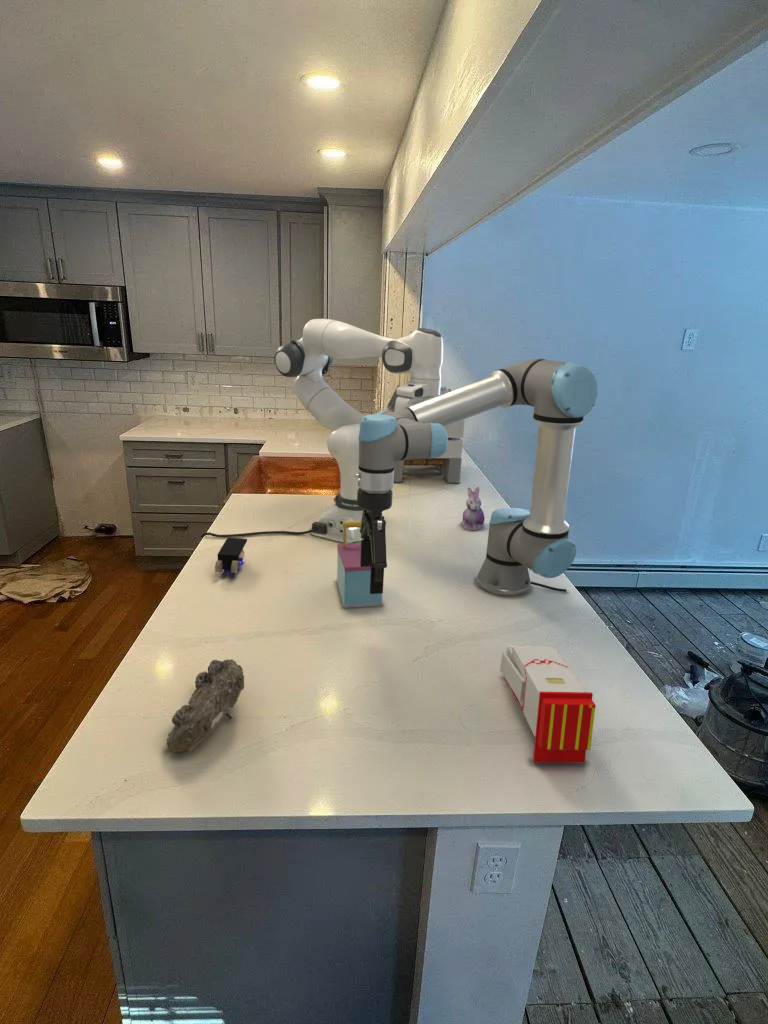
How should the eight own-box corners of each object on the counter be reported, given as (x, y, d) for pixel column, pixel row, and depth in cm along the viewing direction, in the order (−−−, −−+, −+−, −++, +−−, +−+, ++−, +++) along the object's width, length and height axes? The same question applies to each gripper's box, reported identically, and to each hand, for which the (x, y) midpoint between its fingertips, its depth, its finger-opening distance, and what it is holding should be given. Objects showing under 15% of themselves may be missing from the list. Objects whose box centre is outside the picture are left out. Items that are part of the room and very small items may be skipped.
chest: (336, 581, 163) (337, 548, 160) (371, 579, 165) (372, 546, 162) (344, 607, 149) (344, 571, 146) (381, 605, 151) (383, 569, 148)
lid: (337, 547, 160) (337, 518, 157) (372, 545, 162) (373, 517, 159) (344, 571, 146) (345, 540, 143) (383, 569, 148) (384, 538, 145)
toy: (549, 628, 125) (605, 700, 96) (544, 683, 128) (596, 770, 99) (495, 627, 125) (534, 699, 95) (491, 683, 128) (527, 769, 98)
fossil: (192, 660, 117) (244, 628, 112) (224, 691, 120) (276, 661, 115) (142, 746, 98) (202, 712, 93) (182, 779, 101) (242, 748, 96)
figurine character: (238, 584, 162) (249, 557, 175) (236, 562, 158) (247, 536, 172) (215, 584, 161) (227, 556, 175) (212, 561, 158) (225, 535, 171)
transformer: (382, 463, 289) (386, 382, 275) (445, 464, 293) (451, 384, 279) (390, 482, 257) (394, 392, 243) (460, 483, 261) (468, 394, 247)
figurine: (470, 532, 203) (474, 493, 198) (454, 523, 212) (457, 484, 207) (491, 529, 208) (495, 490, 202) (474, 520, 216) (478, 482, 211)
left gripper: (440, 384, 171) (437, 430, 176) (392, 388, 158) (389, 437, 162) (456, 387, 167) (452, 433, 172) (408, 392, 154) (405, 442, 158)
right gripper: (349, 472, 131) (347, 556, 138) (367, 508, 108) (363, 606, 115) (381, 472, 133) (377, 555, 140) (405, 508, 110) (398, 605, 117)
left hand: (421, 435), depth 167 cm, fingers open, 8 cm apart
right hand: (370, 578), depth 128 cm, fingers open, 13 cm apart
